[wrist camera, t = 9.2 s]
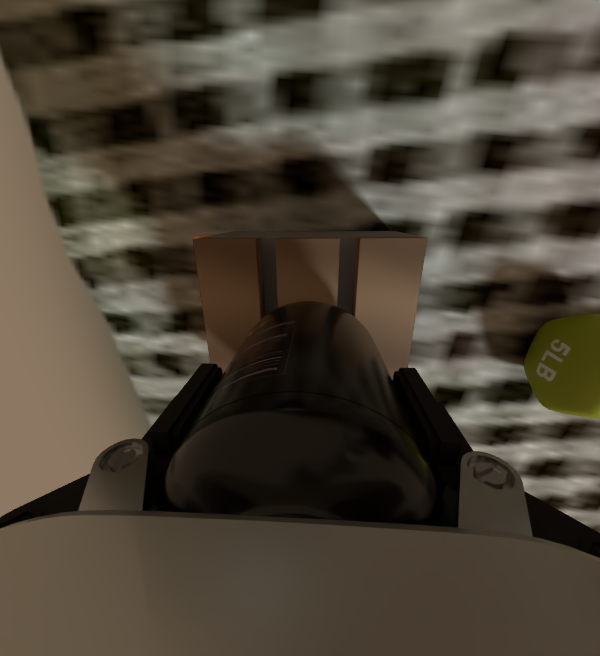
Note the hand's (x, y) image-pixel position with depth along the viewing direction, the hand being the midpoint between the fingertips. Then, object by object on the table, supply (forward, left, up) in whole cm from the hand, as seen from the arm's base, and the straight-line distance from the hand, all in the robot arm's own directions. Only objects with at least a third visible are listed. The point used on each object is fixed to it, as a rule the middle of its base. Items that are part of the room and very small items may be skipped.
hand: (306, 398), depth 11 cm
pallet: (0, 0, -7) cm, 7 cm away
